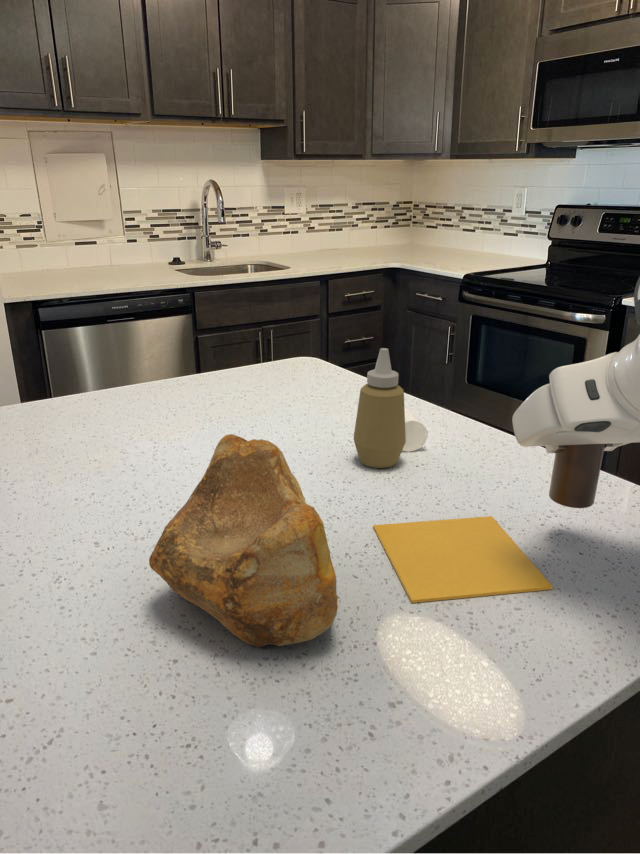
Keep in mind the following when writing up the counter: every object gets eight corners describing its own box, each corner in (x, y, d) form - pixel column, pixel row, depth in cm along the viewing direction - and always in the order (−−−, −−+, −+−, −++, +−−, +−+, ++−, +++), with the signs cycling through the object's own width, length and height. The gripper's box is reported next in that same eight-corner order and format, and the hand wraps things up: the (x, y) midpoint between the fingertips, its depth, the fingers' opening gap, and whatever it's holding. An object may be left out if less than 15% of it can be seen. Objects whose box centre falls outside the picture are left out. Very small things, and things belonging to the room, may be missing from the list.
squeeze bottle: (360, 474, 99) (365, 357, 93) (346, 453, 106) (350, 343, 100) (411, 470, 101) (419, 355, 94) (395, 449, 108) (401, 341, 102)
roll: (405, 424, 119) (407, 395, 117) (427, 450, 108) (429, 418, 106) (372, 426, 118) (374, 396, 116) (391, 452, 107) (393, 420, 105)
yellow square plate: (491, 518, 87) (491, 515, 87) (552, 589, 72) (552, 586, 72) (373, 527, 84) (373, 525, 84) (411, 603, 69) (411, 600, 69)
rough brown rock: (145, 559, 78) (123, 445, 72) (280, 525, 83) (270, 416, 77) (180, 703, 58) (153, 562, 52) (354, 647, 63) (349, 512, 57)
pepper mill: (579, 487, 83) (598, 379, 78) (602, 506, 79) (624, 392, 74) (541, 490, 82) (557, 380, 77) (562, 509, 78) (581, 394, 73)
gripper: (724, 363, 69) (649, 419, 81) (539, 367, 66) (491, 425, 79) (745, 418, 66) (664, 467, 79) (553, 425, 64) (501, 475, 76)
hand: (576, 446), depth 79 cm, fingers closed on pepper mill, 5 cm apart
